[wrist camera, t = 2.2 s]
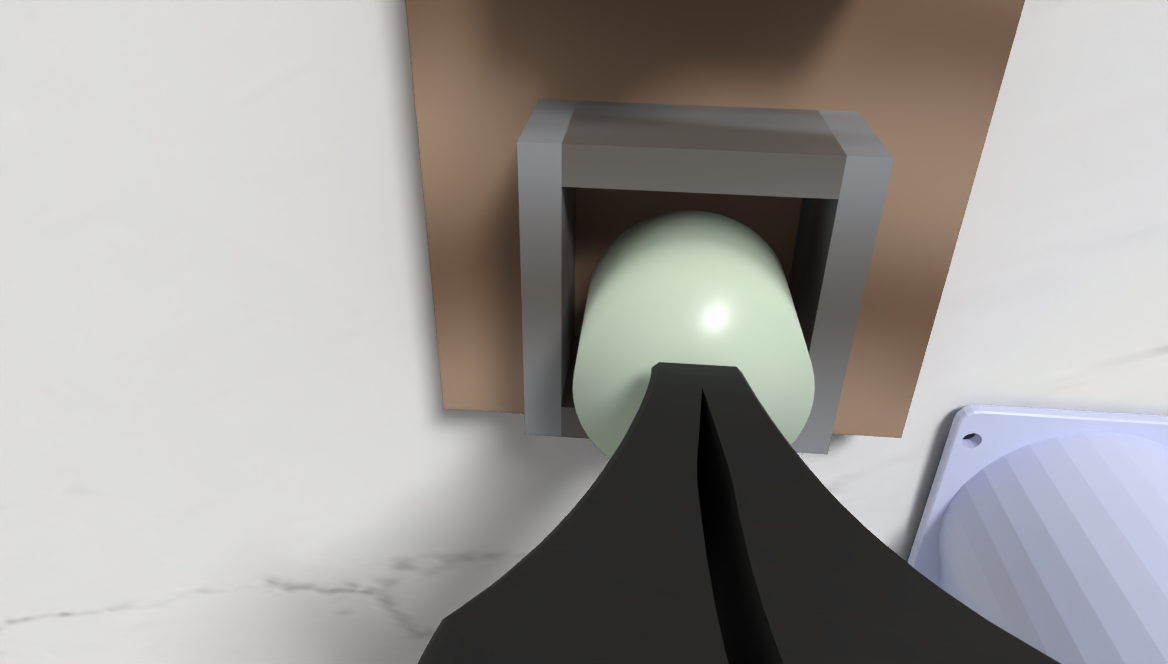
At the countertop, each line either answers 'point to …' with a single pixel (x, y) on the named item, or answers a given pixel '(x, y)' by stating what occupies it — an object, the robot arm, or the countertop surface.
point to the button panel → (699, 174)
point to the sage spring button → (688, 321)
